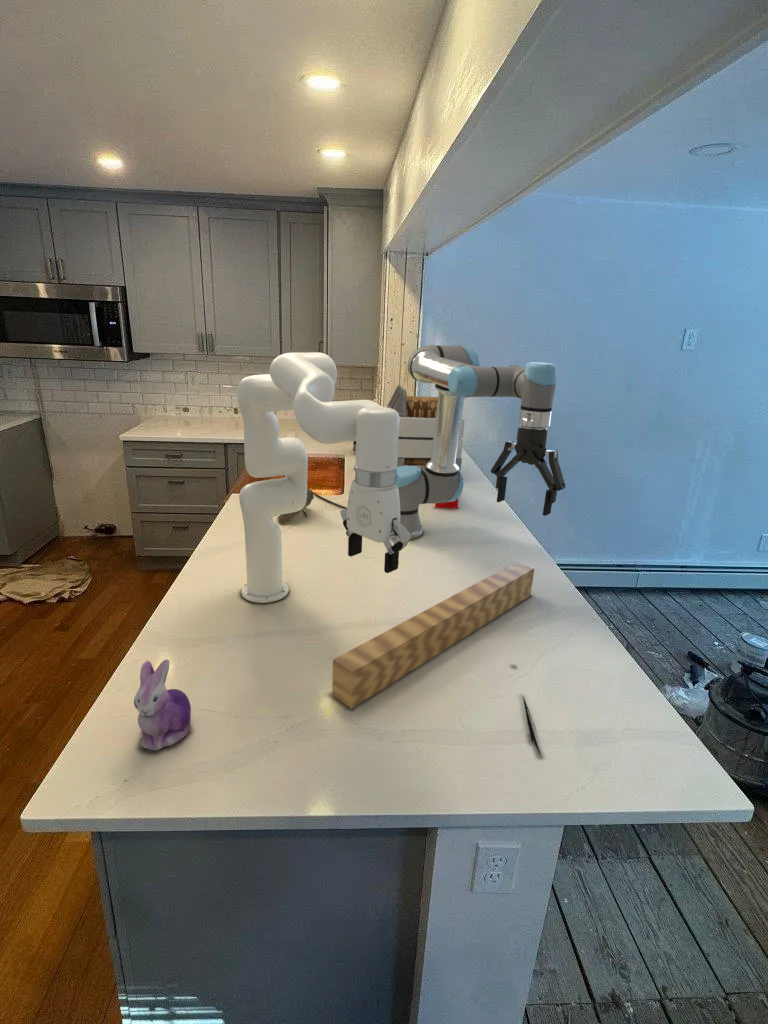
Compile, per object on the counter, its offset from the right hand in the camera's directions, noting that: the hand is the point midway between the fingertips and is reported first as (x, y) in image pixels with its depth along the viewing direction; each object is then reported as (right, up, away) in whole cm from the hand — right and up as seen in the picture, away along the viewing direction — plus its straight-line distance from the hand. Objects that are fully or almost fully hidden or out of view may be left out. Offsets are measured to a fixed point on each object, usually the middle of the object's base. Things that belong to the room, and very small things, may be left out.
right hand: (522, 507), depth 148 cm
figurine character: (-50, +31, +161) cm, 172 cm away
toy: (-12, +5, +92) cm, 93 cm away
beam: (-21, -32, -10) cm, 39 cm away
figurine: (-76, -42, -45) cm, 98 cm away
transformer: (-19, +18, +127) cm, 130 cm away
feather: (-8, -41, -33) cm, 53 cm away
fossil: (-69, -2, +65) cm, 95 cm away
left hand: (-38, -11, -40) cm, 56 cm away
